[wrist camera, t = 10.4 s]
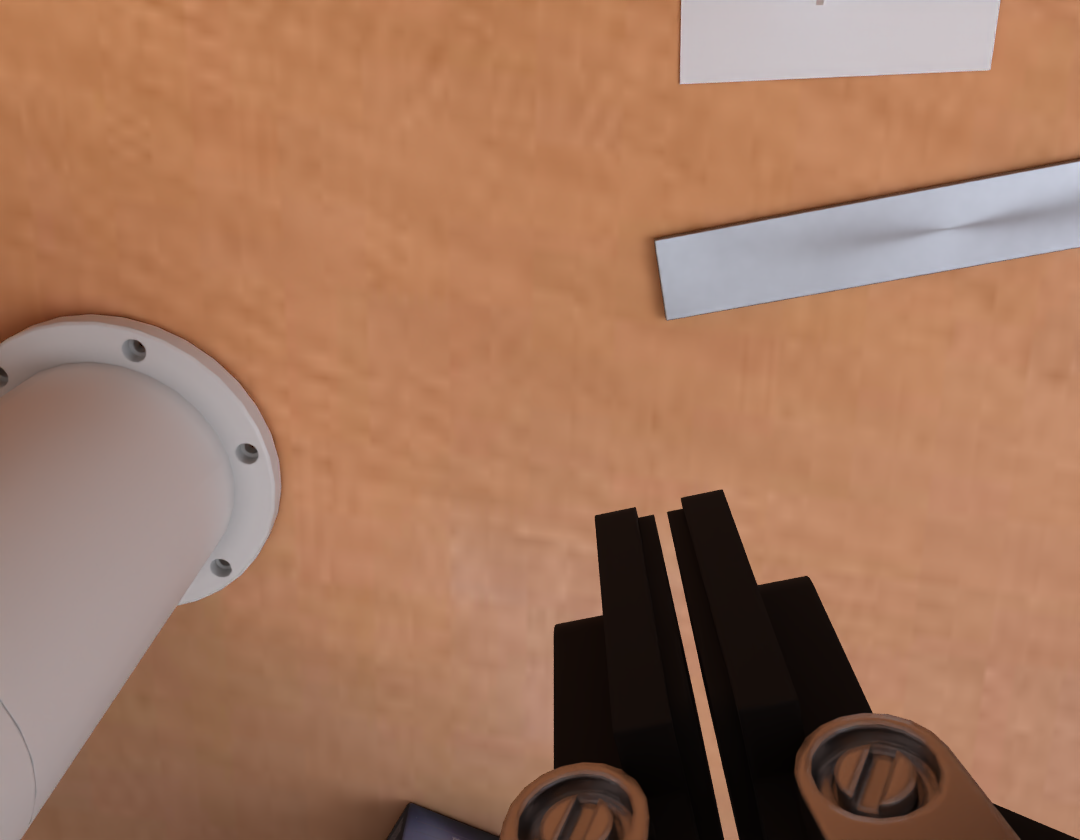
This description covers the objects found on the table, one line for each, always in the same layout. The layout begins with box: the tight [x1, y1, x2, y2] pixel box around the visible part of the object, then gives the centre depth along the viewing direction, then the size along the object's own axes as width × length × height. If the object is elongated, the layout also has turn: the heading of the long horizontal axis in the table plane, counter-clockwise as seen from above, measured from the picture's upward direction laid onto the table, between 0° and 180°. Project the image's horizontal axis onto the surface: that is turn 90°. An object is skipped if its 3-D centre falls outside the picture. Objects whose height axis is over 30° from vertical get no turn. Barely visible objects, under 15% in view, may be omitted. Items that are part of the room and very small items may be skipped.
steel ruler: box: [654, 159, 1080, 321], centre depth 32 cm, size 20×3×1 cm, turn 101°
